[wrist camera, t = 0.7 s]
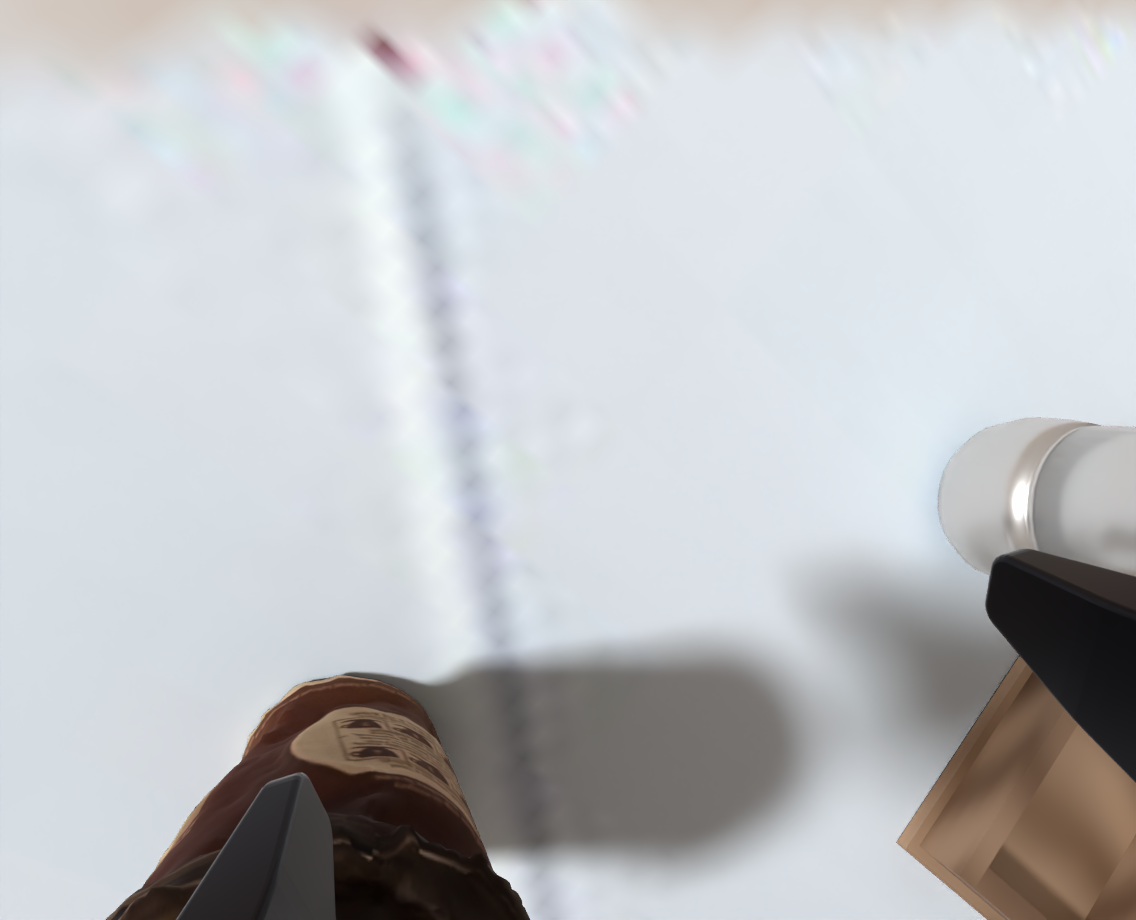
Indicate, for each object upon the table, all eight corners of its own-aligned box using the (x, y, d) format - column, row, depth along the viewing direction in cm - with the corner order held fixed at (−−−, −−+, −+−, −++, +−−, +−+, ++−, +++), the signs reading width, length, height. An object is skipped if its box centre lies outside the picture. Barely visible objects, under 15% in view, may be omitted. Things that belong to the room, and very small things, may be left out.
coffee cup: (354, 582, 22) (306, 755, 10) (523, 740, 24) (671, 1066, 11) (144, 784, 21) (-236, 1301, 8) (339, 940, 22) (272, 1572, 10)
